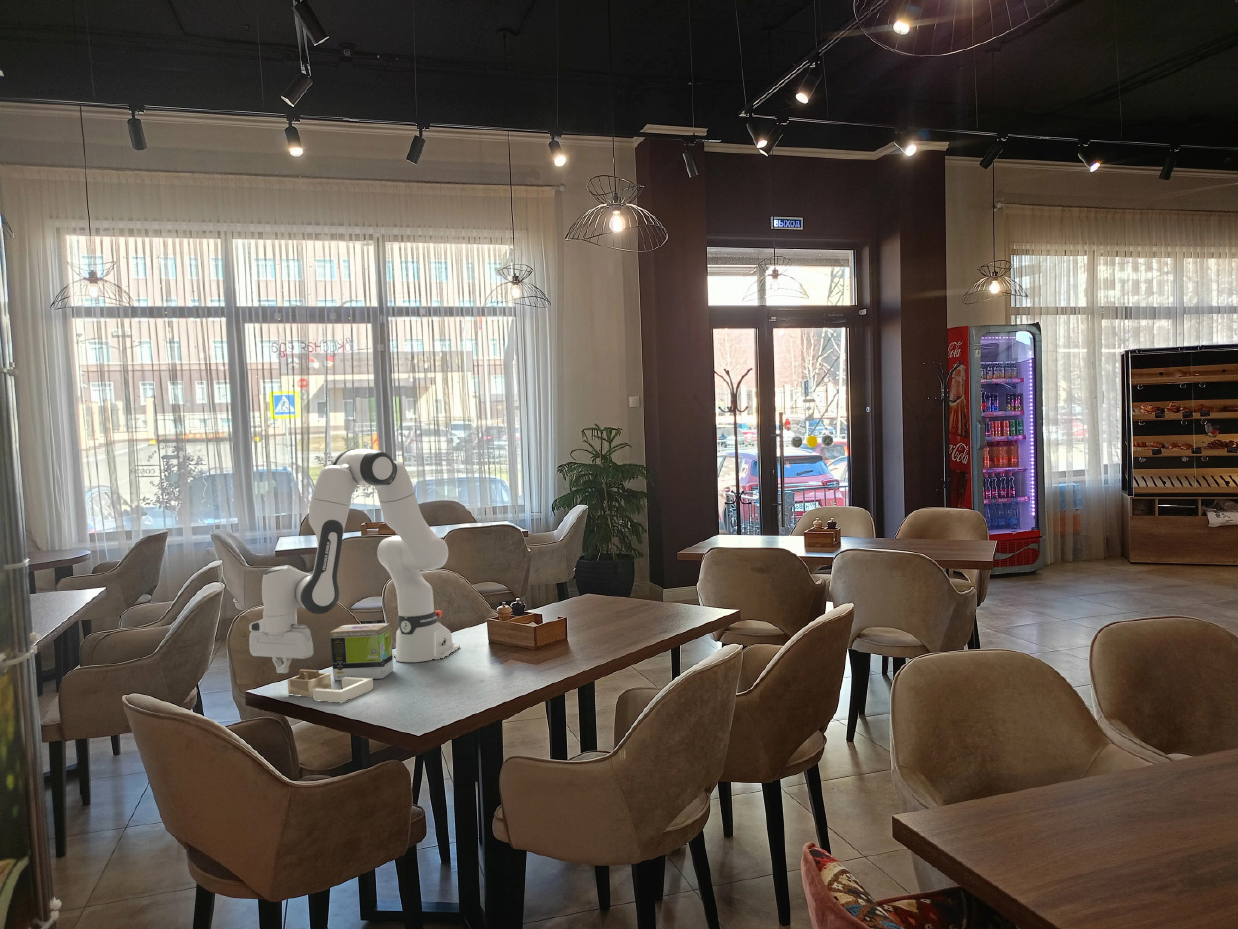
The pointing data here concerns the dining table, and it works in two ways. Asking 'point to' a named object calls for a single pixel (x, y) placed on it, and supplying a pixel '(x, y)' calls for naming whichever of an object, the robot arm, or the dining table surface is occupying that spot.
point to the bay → (345, 690)
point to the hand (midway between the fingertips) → (282, 672)
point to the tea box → (362, 651)
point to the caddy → (308, 682)
